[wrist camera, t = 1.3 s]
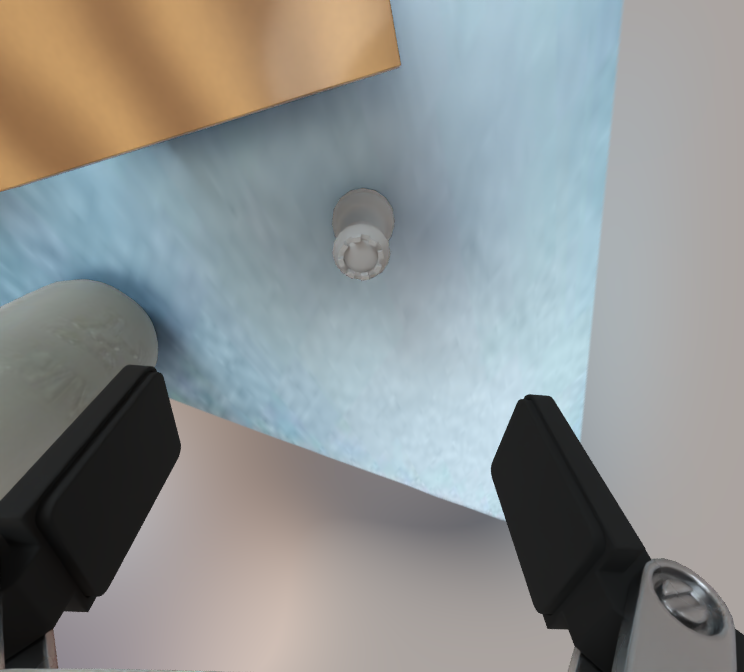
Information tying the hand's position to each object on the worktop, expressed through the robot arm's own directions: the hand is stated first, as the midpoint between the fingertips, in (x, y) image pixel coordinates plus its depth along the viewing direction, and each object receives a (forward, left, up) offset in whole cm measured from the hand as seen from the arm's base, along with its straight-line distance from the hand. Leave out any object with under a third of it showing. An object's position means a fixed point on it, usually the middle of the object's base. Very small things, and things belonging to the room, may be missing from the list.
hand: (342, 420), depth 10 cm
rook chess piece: (0, 0, -20) cm, 20 cm away
